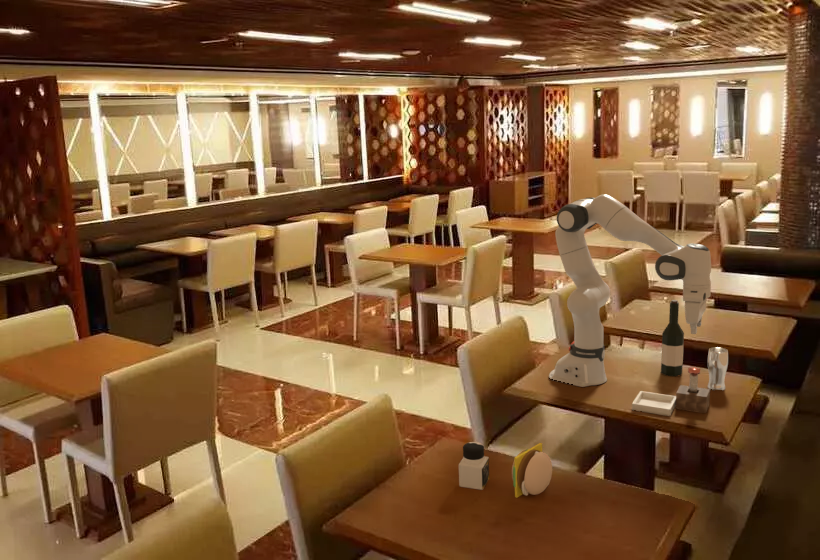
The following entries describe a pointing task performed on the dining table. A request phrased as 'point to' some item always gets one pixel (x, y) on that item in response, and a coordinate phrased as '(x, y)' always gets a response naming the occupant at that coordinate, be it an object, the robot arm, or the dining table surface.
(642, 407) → the tray
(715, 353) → the beer glass
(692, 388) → the pin
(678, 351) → the wine bottle
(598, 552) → the dining table surface
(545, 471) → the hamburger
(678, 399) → the block
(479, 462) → the medicine bottle
